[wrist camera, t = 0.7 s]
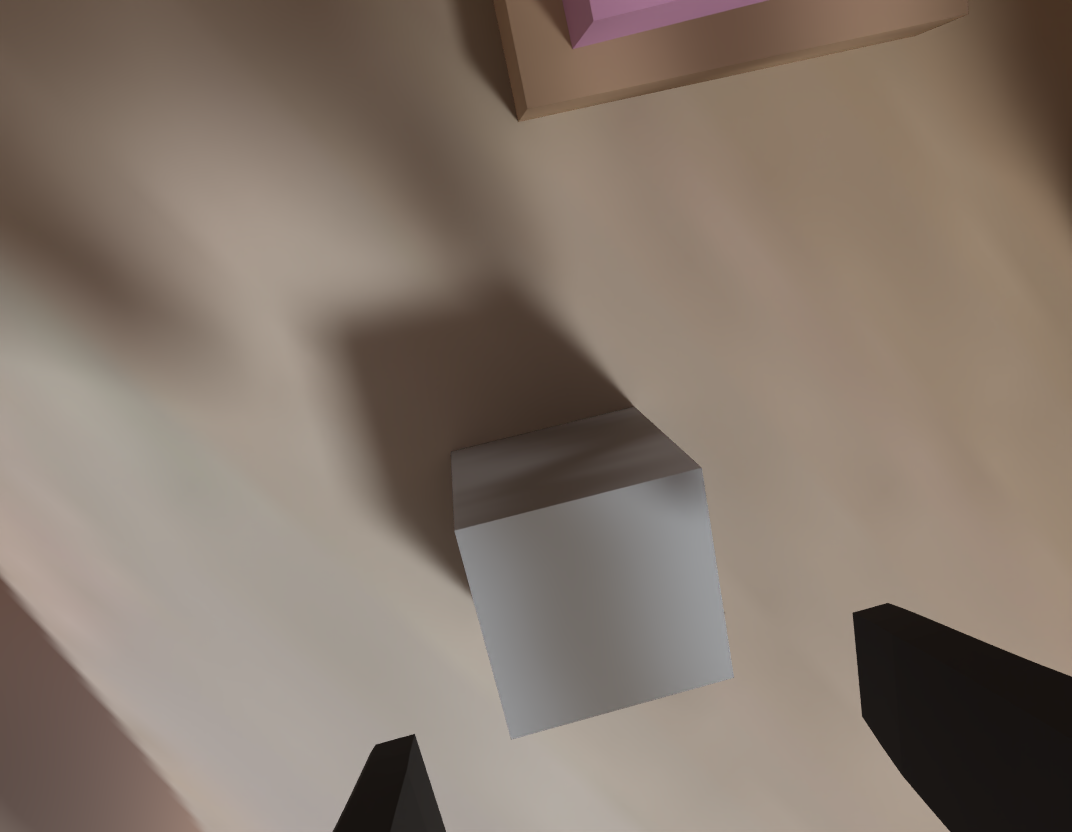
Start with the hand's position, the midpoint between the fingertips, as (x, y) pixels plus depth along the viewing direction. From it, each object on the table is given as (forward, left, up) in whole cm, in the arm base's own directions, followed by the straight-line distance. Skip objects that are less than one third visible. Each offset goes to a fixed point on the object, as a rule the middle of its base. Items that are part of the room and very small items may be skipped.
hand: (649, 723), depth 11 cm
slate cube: (0, 0, -8) cm, 8 cm away
